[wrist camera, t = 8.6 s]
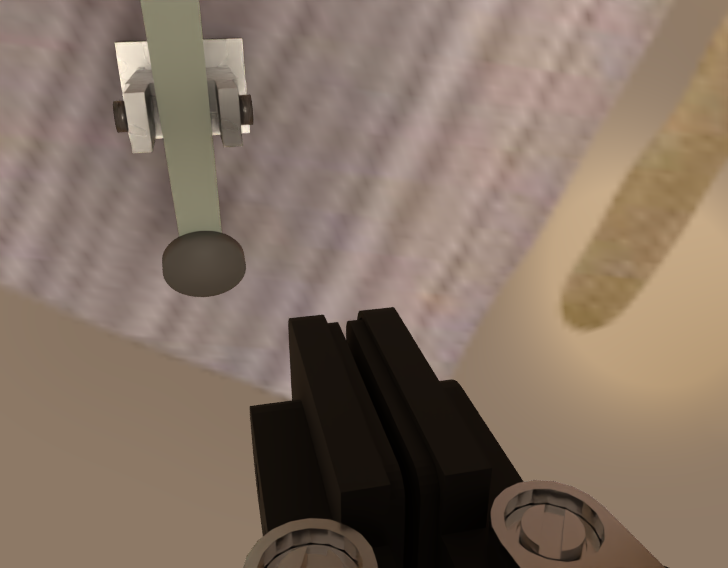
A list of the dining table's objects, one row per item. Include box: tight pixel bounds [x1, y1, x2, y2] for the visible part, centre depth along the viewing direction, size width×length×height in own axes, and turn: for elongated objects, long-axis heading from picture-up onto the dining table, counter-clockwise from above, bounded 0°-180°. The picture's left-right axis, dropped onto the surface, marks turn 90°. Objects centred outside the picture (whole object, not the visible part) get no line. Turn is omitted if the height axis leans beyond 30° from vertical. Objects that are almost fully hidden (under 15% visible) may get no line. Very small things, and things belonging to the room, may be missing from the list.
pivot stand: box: [113, 38, 253, 153], centre depth 25 cm, size 4×5×10 cm
